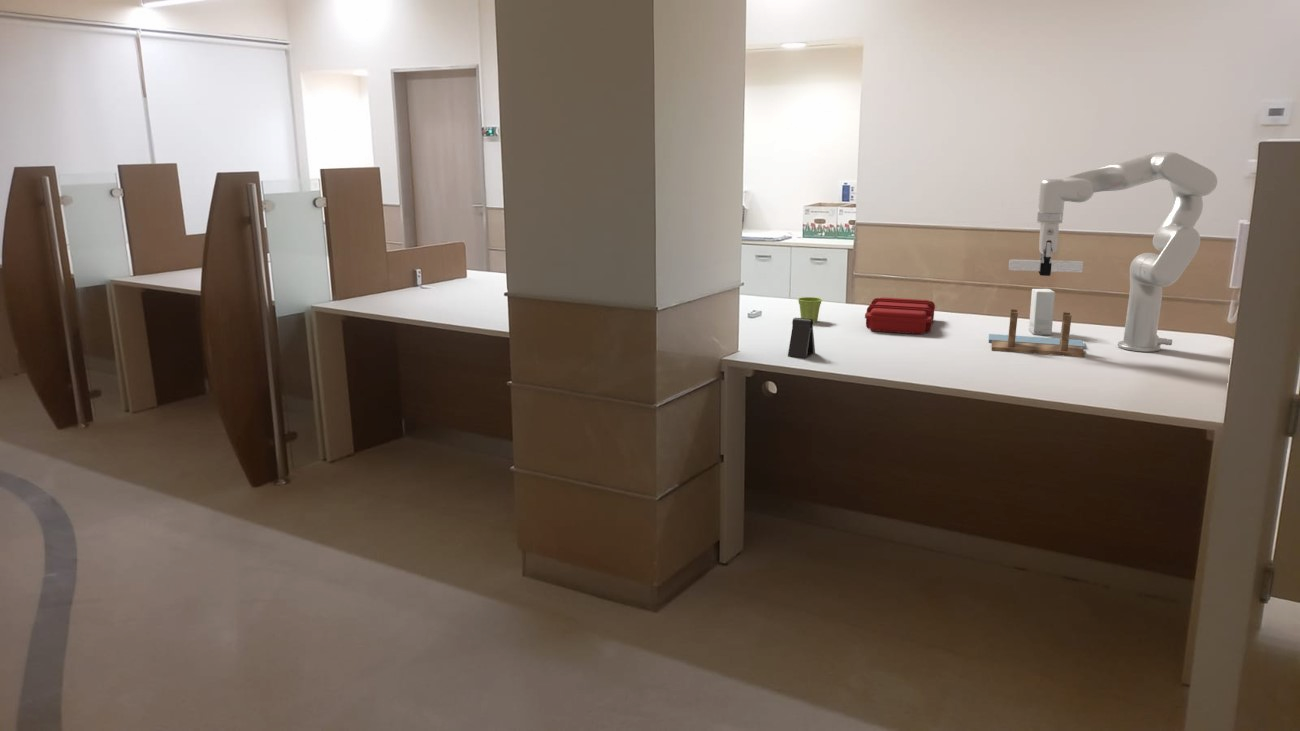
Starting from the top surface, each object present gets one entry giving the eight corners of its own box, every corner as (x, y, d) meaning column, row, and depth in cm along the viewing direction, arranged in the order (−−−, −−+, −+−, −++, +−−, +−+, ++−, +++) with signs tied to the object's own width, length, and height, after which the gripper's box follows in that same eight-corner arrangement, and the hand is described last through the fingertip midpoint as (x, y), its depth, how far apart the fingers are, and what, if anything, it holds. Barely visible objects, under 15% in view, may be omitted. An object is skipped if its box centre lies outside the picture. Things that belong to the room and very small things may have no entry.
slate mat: (1082, 342, 308) (1082, 340, 307) (1084, 349, 299) (1084, 346, 298) (988, 336, 318) (989, 333, 318) (988, 342, 309) (988, 339, 309)
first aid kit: (873, 316, 356) (874, 294, 354) (934, 320, 348) (936, 298, 346) (862, 332, 327) (864, 309, 325) (929, 337, 319) (931, 313, 317)
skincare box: (1051, 335, 319) (1056, 292, 315) (1031, 334, 321) (1036, 291, 317) (1046, 330, 327) (1051, 288, 323) (1027, 330, 328) (1031, 287, 325)
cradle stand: (1081, 350, 297) (1086, 312, 294) (1084, 357, 288) (1089, 318, 285) (991, 343, 307) (995, 307, 303) (991, 350, 298) (995, 312, 294)
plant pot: (791, 320, 347) (792, 298, 345) (811, 318, 352) (812, 296, 349) (806, 324, 339) (807, 302, 337) (826, 322, 344) (827, 299, 341)
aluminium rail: (1081, 271, 292) (1082, 261, 291) (1082, 272, 289) (1083, 262, 288) (1008, 268, 299) (1009, 259, 298) (1008, 270, 296) (1009, 260, 295)
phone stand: (805, 358, 288) (806, 321, 285) (787, 356, 291) (788, 320, 288) (815, 353, 295) (816, 317, 292) (798, 350, 298) (799, 315, 295)
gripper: (1065, 220, 281) (1059, 278, 286) (1060, 216, 296) (1054, 271, 301) (1039, 220, 283) (1033, 278, 288) (1035, 215, 298) (1030, 270, 303)
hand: (1044, 274), depth 294 cm, fingers closed on aluminium rail, 3 cm apart
